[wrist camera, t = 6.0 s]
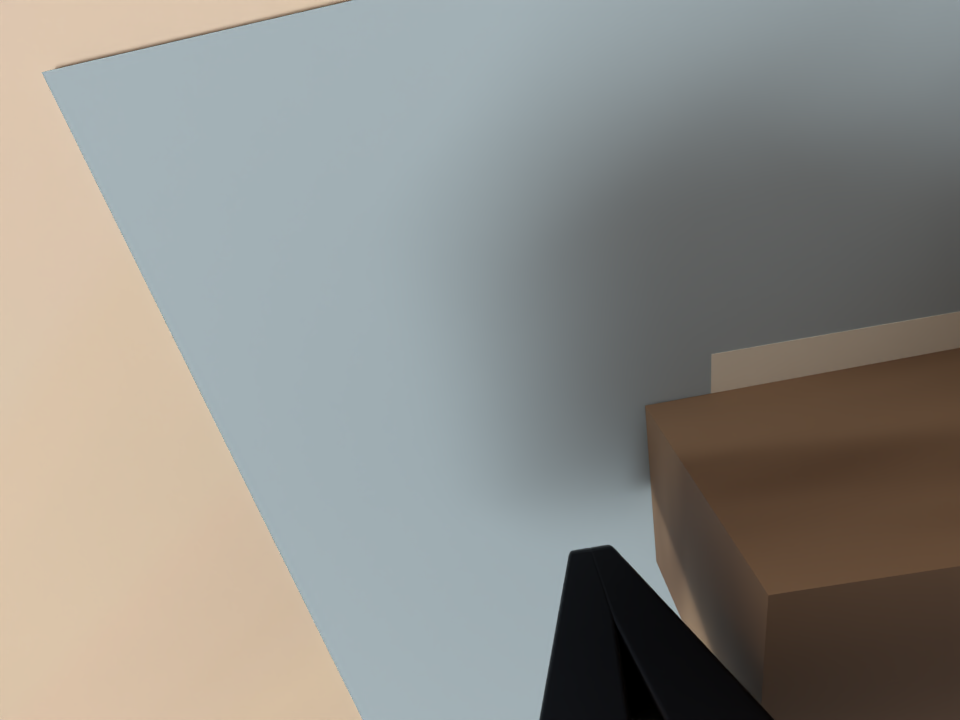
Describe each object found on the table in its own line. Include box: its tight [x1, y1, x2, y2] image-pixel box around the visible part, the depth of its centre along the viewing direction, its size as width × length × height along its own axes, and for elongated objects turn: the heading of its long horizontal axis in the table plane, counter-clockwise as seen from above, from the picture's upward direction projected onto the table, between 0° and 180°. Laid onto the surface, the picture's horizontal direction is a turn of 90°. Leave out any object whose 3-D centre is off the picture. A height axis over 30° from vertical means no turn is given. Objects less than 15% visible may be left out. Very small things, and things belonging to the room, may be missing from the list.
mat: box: [42, 0, 960, 720], centre depth 9 cm, size 18×22×1 cm
